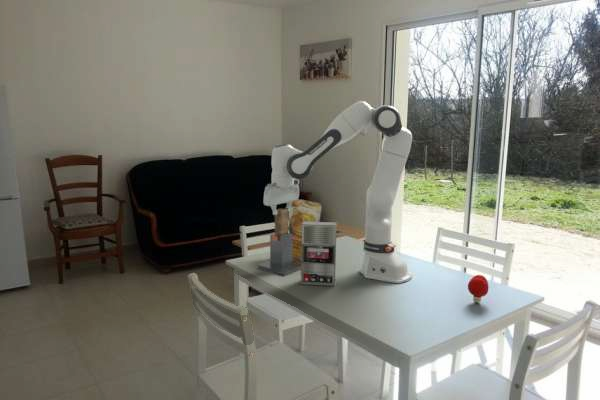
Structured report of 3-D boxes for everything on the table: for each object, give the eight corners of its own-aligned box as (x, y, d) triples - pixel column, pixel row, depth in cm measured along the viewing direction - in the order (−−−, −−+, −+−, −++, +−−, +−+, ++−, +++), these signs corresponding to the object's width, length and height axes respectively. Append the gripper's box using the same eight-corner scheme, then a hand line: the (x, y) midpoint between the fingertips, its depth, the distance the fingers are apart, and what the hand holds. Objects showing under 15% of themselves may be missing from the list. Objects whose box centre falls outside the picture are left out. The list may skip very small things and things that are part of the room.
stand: (304, 267, 208) (305, 234, 205) (285, 275, 197) (285, 240, 194) (277, 260, 217) (278, 228, 215) (257, 268, 207) (257, 234, 204)
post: (288, 253, 206) (288, 209, 203) (281, 255, 203) (282, 211, 199) (280, 251, 209) (280, 208, 205) (274, 253, 206) (274, 209, 202)
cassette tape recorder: (300, 285, 187) (301, 224, 182) (302, 279, 193) (303, 221, 188) (334, 286, 185) (336, 226, 180) (335, 281, 191) (337, 222, 186)
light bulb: (484, 309, 165) (486, 282, 163) (464, 304, 169) (466, 278, 167) (489, 300, 173) (491, 275, 171) (469, 296, 176) (471, 271, 175)
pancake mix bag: (292, 252, 231) (292, 197, 226) (322, 260, 219) (323, 202, 213) (283, 255, 226) (283, 198, 221) (312, 263, 214) (313, 204, 209)
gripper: (271, 185, 190) (271, 218, 193) (301, 180, 206) (301, 210, 208) (259, 183, 194) (260, 216, 196) (290, 178, 210) (290, 208, 212)
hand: (281, 213), depth 203 cm, fingers open, 7 cm apart
